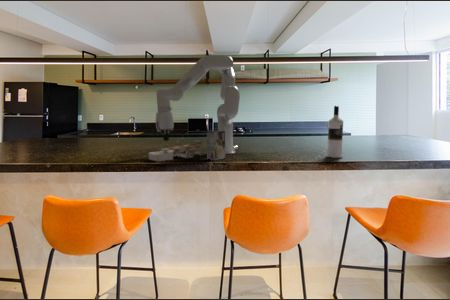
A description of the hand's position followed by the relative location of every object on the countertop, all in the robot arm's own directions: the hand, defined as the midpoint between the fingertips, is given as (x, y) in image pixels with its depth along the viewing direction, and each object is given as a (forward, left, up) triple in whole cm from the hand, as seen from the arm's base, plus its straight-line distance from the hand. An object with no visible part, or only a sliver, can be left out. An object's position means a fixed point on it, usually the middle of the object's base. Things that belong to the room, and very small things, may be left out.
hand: (166, 140), depth 185 cm
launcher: (-8, +5, -6) cm, 11 cm away
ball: (+12, +9, -7) cm, 16 cm away
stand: (-8, +7, -10) cm, 14 cm away
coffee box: (-15, +29, -10) cm, 34 cm away
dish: (+9, +9, -10) cm, 16 cm away
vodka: (-70, +72, -10) cm, 101 cm away
